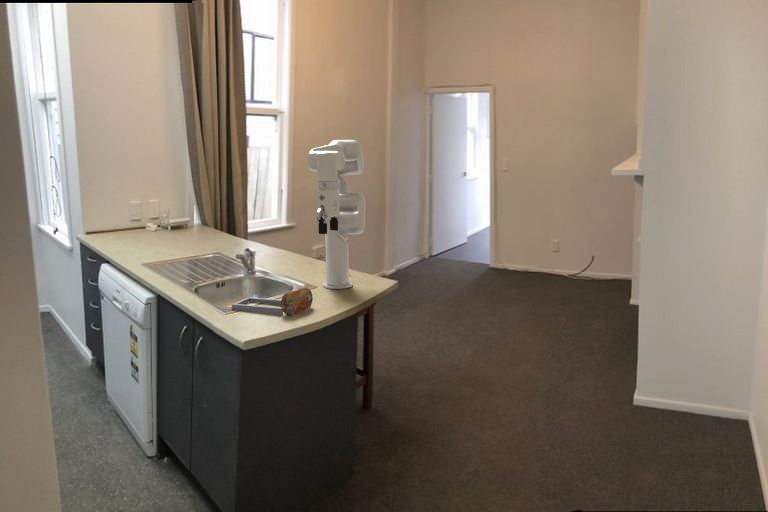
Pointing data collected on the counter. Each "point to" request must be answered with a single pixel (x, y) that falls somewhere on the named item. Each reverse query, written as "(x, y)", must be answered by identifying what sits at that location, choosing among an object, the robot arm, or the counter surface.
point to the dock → (260, 309)
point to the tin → (296, 301)
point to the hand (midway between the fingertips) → (328, 232)
